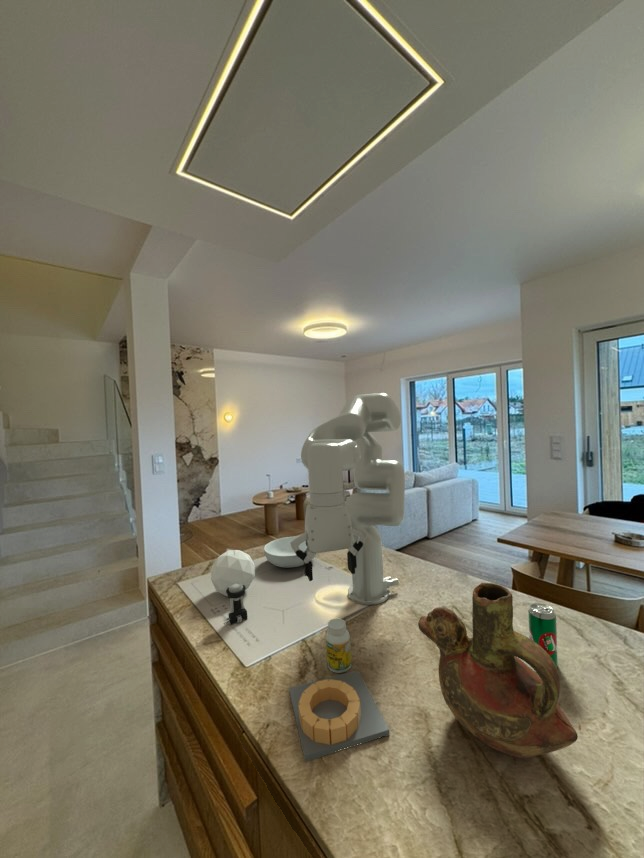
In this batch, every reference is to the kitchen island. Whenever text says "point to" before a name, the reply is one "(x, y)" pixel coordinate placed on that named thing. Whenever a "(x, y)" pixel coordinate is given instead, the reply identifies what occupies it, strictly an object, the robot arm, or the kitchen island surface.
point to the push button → (236, 603)
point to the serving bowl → (284, 553)
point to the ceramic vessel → (498, 677)
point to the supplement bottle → (338, 646)
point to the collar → (331, 728)
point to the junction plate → (370, 717)
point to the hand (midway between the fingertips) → (330, 574)
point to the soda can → (543, 628)
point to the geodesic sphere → (232, 570)
